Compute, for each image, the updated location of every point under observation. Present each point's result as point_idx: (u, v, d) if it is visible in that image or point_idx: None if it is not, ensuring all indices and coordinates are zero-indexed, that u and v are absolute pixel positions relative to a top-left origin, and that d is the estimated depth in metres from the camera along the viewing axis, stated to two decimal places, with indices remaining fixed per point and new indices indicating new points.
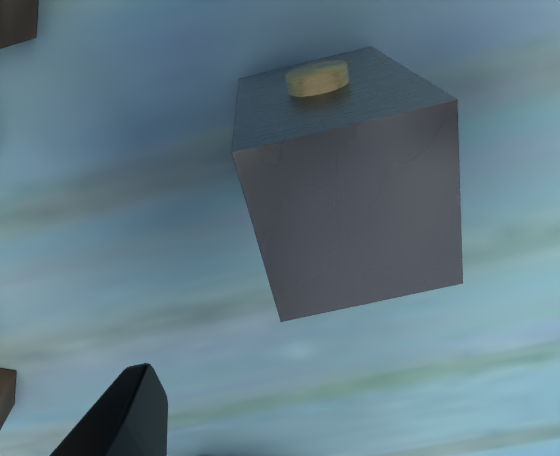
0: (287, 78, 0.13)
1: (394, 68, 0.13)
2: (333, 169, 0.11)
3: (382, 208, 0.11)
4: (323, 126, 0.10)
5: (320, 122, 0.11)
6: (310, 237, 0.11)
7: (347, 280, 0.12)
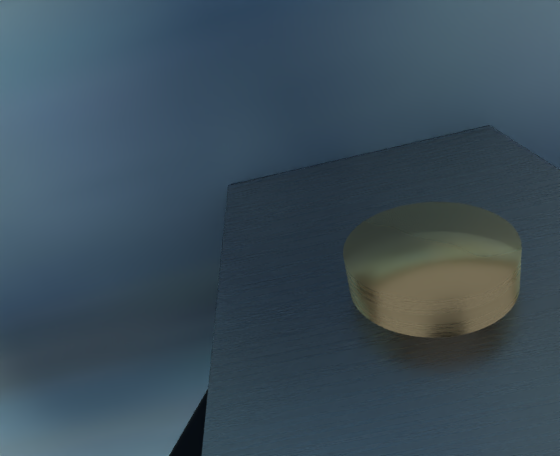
0: (353, 273, 0.05)
1: None
2: None
3: None
4: None
5: None
6: None
7: None
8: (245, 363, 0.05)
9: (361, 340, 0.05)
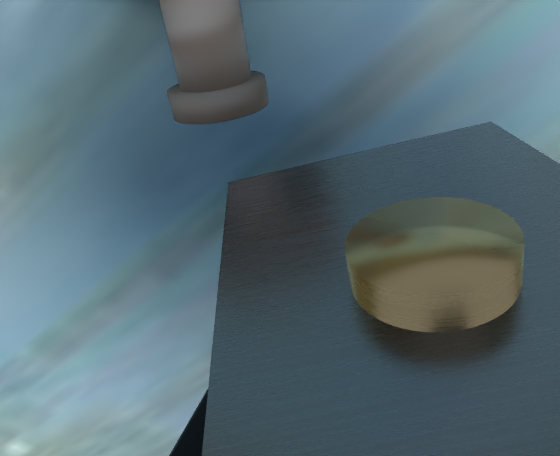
0: (354, 268, 0.05)
1: None
2: None
3: None
4: None
5: None
6: None
7: None
8: (246, 358, 0.05)
9: (362, 335, 0.05)
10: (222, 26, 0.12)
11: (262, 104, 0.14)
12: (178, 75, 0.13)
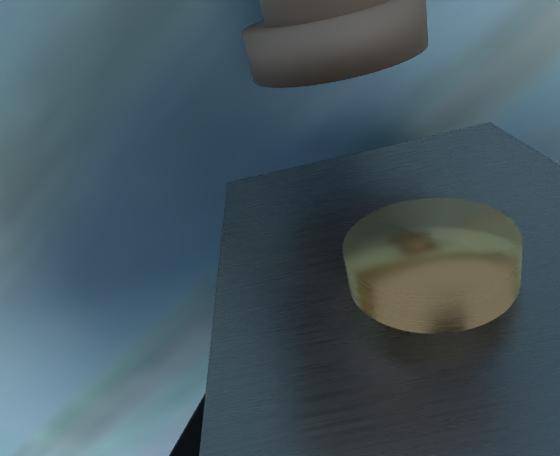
0: (352, 269, 0.05)
1: None
2: None
3: None
4: None
5: None
6: None
7: None
8: (244, 359, 0.05)
9: (361, 336, 0.05)
10: None
11: (426, 40, 0.07)
12: None
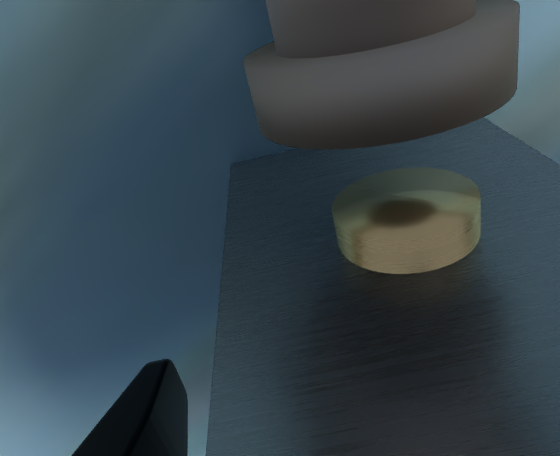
0: (339, 223, 0.06)
1: None
2: None
3: None
4: None
5: None
6: None
7: None
8: (248, 299, 0.06)
9: (346, 278, 0.05)
10: None
11: (516, 77, 0.05)
12: (279, 11, 0.05)
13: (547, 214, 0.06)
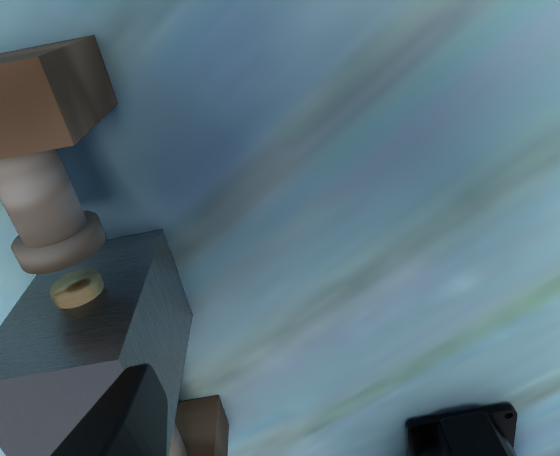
0: (49, 290, 0.17)
1: (138, 282, 0.17)
2: (38, 397, 0.14)
3: None
4: (28, 367, 0.14)
5: (32, 360, 0.14)
6: (35, 436, 0.15)
7: None
8: (16, 314, 0.17)
9: (48, 309, 0.17)
10: (42, 199, 0.15)
11: (92, 251, 0.16)
12: None
13: (121, 289, 0.17)
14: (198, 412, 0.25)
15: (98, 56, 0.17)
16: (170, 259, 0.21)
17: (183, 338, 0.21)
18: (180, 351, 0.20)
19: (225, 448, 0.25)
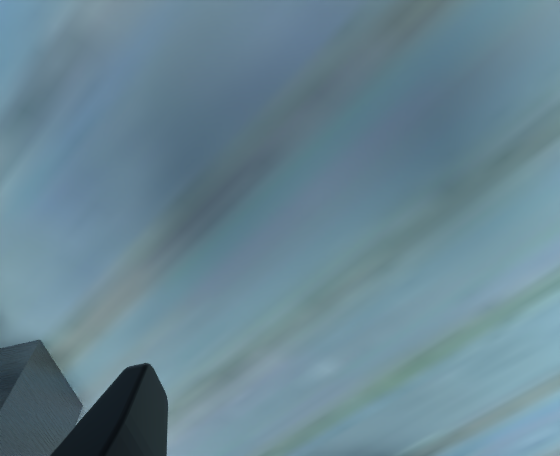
0: None
1: None
2: None
3: None
4: None
5: None
6: None
7: None
8: None
9: None
10: None
11: None
12: None
13: None
14: None
15: None
16: (49, 365, 0.23)
17: (63, 435, 0.23)
18: None
19: None
